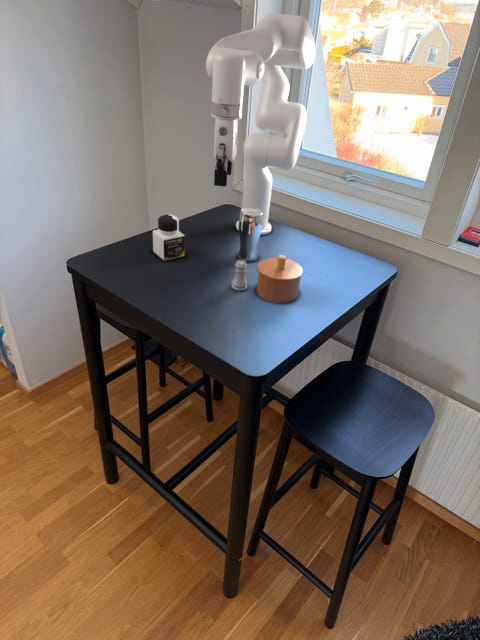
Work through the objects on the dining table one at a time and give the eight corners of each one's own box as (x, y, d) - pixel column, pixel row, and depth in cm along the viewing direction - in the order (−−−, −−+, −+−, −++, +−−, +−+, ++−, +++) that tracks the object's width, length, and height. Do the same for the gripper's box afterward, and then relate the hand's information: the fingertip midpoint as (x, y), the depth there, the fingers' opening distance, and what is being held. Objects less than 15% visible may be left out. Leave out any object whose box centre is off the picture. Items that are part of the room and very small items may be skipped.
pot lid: (259, 258, 131) (260, 244, 129) (302, 263, 131) (304, 249, 128) (255, 279, 121) (257, 264, 119) (302, 285, 121) (305, 270, 118)
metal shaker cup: (256, 264, 143) (261, 217, 134) (234, 260, 143) (237, 213, 135) (260, 254, 148) (265, 209, 140) (238, 250, 149) (242, 205, 141)
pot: (258, 279, 135) (260, 257, 131) (297, 284, 134) (301, 262, 130) (255, 300, 125) (257, 277, 121) (297, 305, 125) (301, 282, 121)
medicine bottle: (164, 261, 140) (163, 223, 133) (152, 251, 144) (151, 214, 137) (184, 256, 143) (185, 219, 136) (173, 247, 148) (173, 210, 141)
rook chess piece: (234, 281, 133) (236, 256, 128) (249, 285, 131) (252, 260, 127) (228, 289, 129) (230, 263, 125) (243, 293, 128) (246, 267, 123)
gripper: (238, 119, 107) (233, 192, 117) (245, 105, 121) (240, 171, 131) (205, 115, 107) (203, 188, 117) (216, 102, 122) (213, 168, 131)
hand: (222, 179), depth 124 cm, fingers open, 9 cm apart
